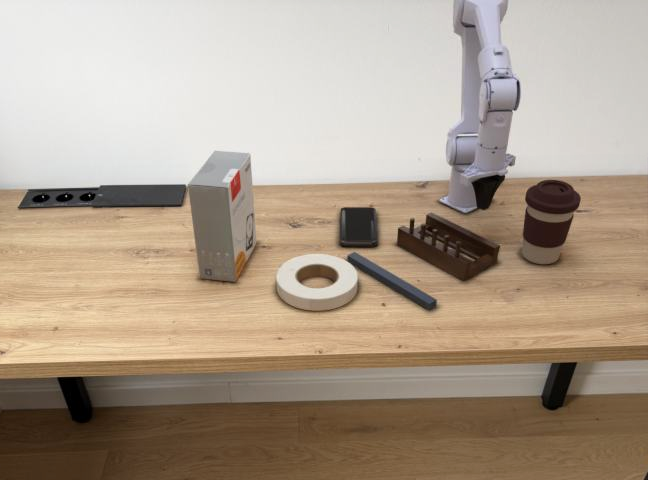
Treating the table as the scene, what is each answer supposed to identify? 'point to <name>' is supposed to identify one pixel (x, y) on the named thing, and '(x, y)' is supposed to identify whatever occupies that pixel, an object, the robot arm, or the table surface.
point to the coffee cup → (548, 220)
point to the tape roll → (317, 297)
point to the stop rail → (392, 281)
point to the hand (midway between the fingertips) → (482, 207)
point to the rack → (450, 237)
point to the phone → (358, 227)
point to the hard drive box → (223, 215)
